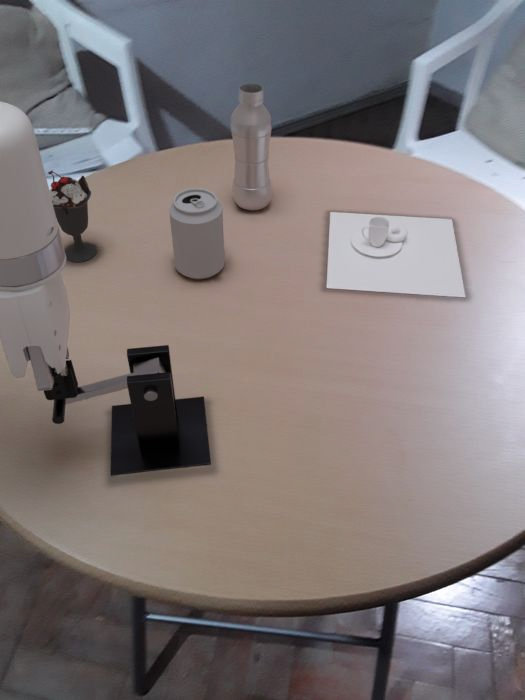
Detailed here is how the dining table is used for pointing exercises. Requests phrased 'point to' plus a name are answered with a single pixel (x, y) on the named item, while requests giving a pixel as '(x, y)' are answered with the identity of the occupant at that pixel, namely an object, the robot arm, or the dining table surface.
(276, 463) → the dining table surface
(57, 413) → the lever handle
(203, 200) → the can
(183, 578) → the dining table surface
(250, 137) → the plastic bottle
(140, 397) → the black lever stand
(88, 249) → the sundae
